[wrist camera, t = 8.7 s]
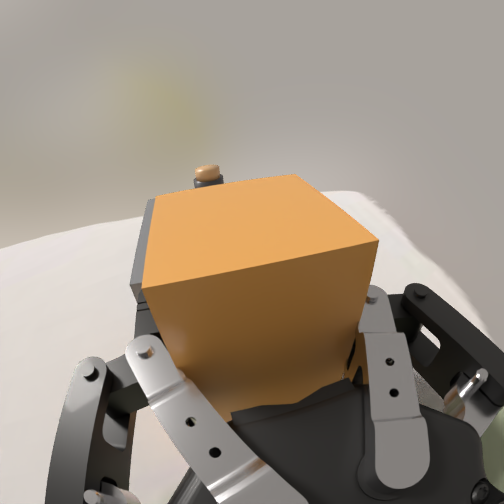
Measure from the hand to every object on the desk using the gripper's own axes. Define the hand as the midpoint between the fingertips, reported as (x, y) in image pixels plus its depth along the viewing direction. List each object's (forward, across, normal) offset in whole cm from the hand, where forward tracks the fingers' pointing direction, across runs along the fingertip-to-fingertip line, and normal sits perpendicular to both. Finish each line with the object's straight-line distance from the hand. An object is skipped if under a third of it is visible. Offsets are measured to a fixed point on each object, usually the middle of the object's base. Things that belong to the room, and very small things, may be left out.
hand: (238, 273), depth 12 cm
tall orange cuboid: (-2, 0, +6) cm, 6 cm away
